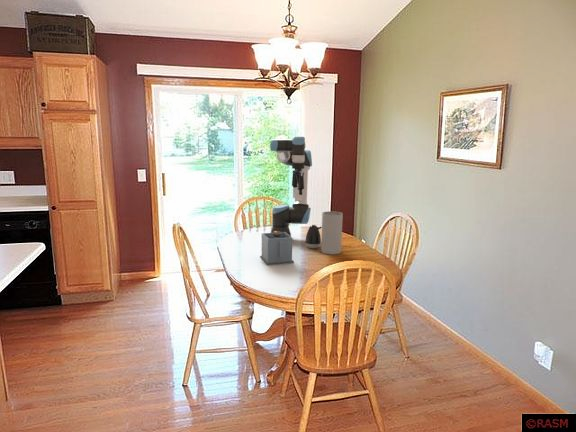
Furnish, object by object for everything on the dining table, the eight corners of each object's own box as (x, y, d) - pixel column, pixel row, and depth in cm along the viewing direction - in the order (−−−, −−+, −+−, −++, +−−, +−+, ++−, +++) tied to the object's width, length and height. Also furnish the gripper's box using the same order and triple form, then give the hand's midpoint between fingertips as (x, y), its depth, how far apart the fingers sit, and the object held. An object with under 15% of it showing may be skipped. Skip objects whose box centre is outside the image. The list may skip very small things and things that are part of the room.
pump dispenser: (320, 250, 264) (320, 227, 261) (304, 249, 266) (304, 226, 263) (322, 246, 274) (322, 223, 271) (306, 245, 276) (307, 222, 273)
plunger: (264, 251, 245) (264, 230, 242) (283, 250, 248) (283, 229, 246) (269, 257, 234) (269, 234, 231) (289, 255, 237) (289, 233, 235)
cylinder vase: (320, 249, 266) (321, 211, 261) (340, 249, 266) (341, 211, 261) (321, 254, 254) (322, 214, 249) (341, 255, 254) (343, 215, 249)
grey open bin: (259, 257, 247) (260, 233, 244) (285, 255, 252) (285, 231, 249) (267, 266, 230) (267, 240, 227) (294, 263, 235) (295, 238, 232)
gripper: (287, 161, 260) (286, 196, 264) (298, 163, 240) (297, 201, 245) (298, 161, 262) (297, 196, 267) (310, 163, 242) (309, 201, 247)
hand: (297, 198), depth 256 cm, fingers open, 8 cm apart
